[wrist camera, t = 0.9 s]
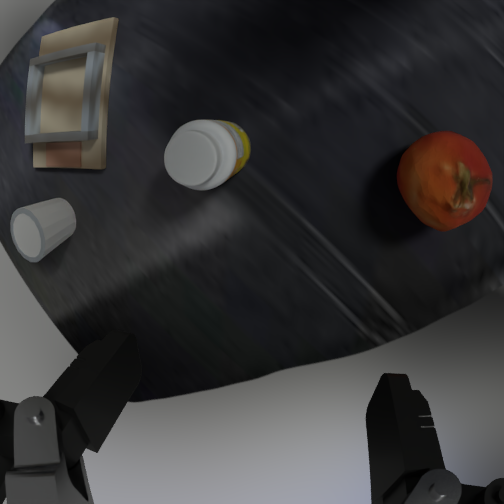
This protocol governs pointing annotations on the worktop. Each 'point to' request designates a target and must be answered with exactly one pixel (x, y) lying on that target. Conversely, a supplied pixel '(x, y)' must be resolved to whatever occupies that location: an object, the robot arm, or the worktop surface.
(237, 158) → the supplement bottle
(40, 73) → the holder
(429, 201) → the tomato
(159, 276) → the worktop surface
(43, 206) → the shot glass
